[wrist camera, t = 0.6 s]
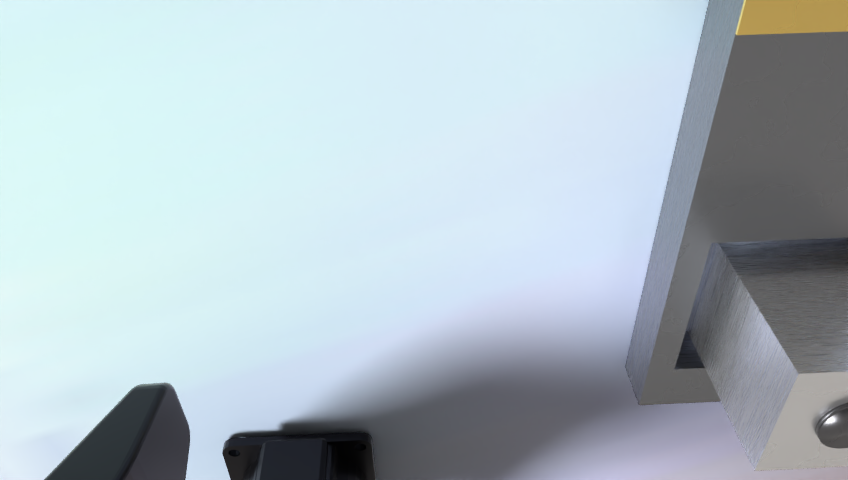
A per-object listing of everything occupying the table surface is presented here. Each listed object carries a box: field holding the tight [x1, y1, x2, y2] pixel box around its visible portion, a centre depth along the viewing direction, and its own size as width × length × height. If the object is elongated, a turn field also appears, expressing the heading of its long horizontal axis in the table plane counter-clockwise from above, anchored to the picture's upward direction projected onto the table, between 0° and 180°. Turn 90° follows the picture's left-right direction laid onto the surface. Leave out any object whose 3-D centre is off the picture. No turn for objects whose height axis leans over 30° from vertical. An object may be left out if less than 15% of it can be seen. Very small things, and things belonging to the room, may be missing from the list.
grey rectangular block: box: [686, 238, 848, 471], centre depth 23 cm, size 4×4×7 cm
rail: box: [625, 0, 848, 405], centre depth 21 cm, size 24×8×2 cm, turn 1°
